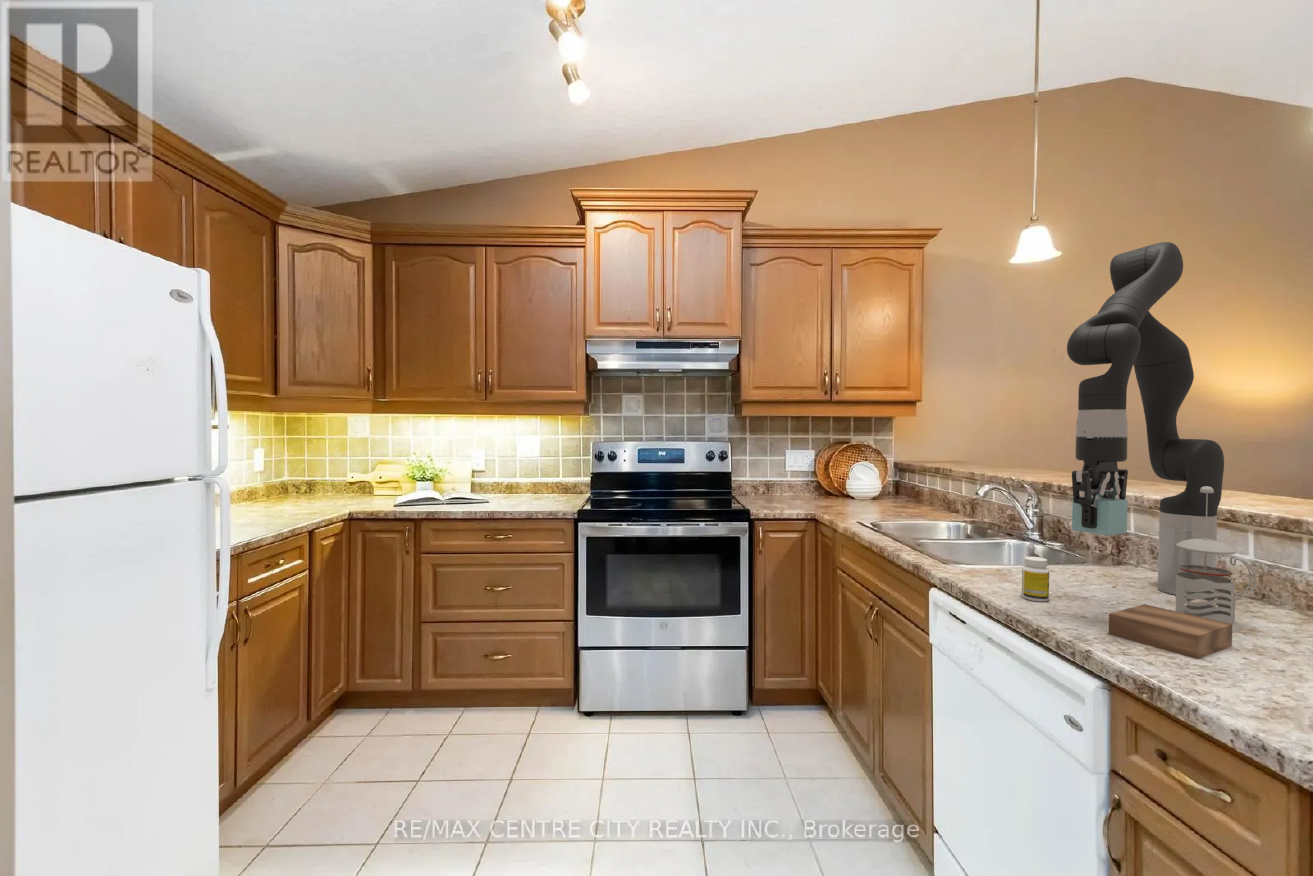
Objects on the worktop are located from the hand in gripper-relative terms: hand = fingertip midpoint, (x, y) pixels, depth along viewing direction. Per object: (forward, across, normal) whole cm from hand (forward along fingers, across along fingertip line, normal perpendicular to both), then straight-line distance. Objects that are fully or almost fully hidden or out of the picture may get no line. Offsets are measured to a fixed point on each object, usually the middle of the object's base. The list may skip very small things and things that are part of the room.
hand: (1099, 526), depth 107 cm
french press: (+18, -18, +9) cm, 27 cm away
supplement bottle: (+18, -4, -13) cm, 23 cm away
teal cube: (+1, 0, 0) cm, 1 cm away
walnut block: (+18, 0, +11) cm, 21 cm away
